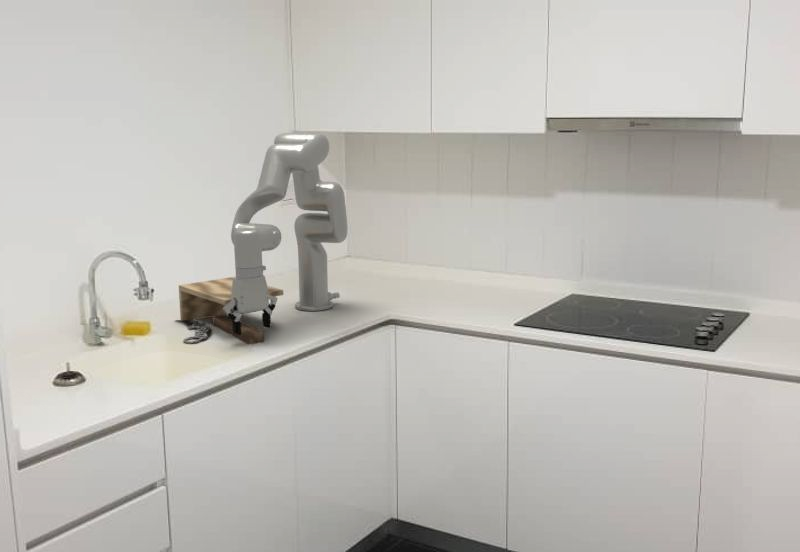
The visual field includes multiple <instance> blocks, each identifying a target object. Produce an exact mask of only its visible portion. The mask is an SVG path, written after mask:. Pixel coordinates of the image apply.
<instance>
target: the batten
mask: <svg viewBox="0 0 800 552" xmlns="http://www.w3.org/2000/svg"><path fill="white" fill-rule="evenodd" d="M239 321H240V322H241V335H237V334H234V332H233V327H232V320H230V318H229V317H227V316H226V314H222V315H217V316H212V324H213V325H212V326H214V327H216V328H217V329H219V330H221V331H222V330H223V332H224V331H225V332H224V333H226V334H228V335H230V336H232V337H233V338H236V339H238V340H240V341H241V342H243V343H245V344H247V345H249V346H251V345H256V344H262V343H265V337H264V335H265V334H264V332H263V331H261V330H259V329H257V328H255V327H253V326H251V325H249V324H247V323H245V322H243V321H241V320H239Z"/></svg>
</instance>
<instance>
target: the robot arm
mask: <svg viewBox="0 0 800 552" xmlns="http://www.w3.org/2000/svg"><path fill="white" fill-rule="evenodd" d="M329 152H330V143H329V139H328V138H327V137H326V135H324V134H323V133H316V132H314V133H313V132H312V133H311V132H285V133H284V132H283V133H279V134H278V135H276V136H275V137H274V141H273V145H270V146H269V147H268V148H267V150H266V153H265V156H264V160H263V163H262V167H261V172H260V177H259V180H258V182H257V183H258V185H257V188H256V189H255V190H254V191H252V193H250V194H249V195H248V196H247V197H246V198H245V199H244V200H243V201H242V203H241V204H240V205H239V206H238V207H237V210H236V211H235V214H234V218H233V221H232V222H233V223H232V227H231V232H230V236H231V237H230V238H231V243H232V245H233V246H234V247H233V248H234V249H233V251H234V266H235V277H236V278H233V282H232V291H231V302H229V303H228V304H227V305H226V306H224V307H223V310H224V312H225V314H224V315H226V316H227V317H229V318H230V320H232V327H233V332H234V334H237V335H241V322H242V321H241V320H240V319H241V318H242V316H243V315H245V314H250V313H256V312H259V311H262V312H263V313H262V314H261V316H262V318H261V319H262V327H264V328H266V329H271V324H272V322H271V321H272V318H271V315H272V314H273V311H274V309H276V304H277V302H278V296H275V297H274V296H272V295H269V294H268V288H267V286H268V283H267V280H266V276H265V275H264V271H266V270H267V268H266V266H265V265H263V252H266V251H267V252H268V251H269V252H270V251H273V250H276V249H277V248H278V247H279V246H280V244H281V242H282V232H281V229H280V228H278V226H275V225H274V224H269V223H268V224H267V223H251V220H252V218H253V217H254V216H255V215H256V214H257V213H258V212H260V211H261V210H263V209H265V208H267V207H269V206H271V205H274V204H277V203H279V202H281V201H282V200H284V199H285V198H286V195H287V189H288V187H289V182H290V177H291V175H292V180H293V181H292V182H293V190H294V197H295V202H296V205H297V207H298V209H300V210H304V211H309V212H305V213H301V214H300V215H298V216H297V217H296V218H295V221H294V226H293V227H294V233H295V237H296V243H297V255H298V257H297V259H298V290H299V294H298V295H299V301H297V302H295V303H294V308H295V309H296V310H299V311H303V312H305V311H306V312H309V311H310V312H316V311H325V310H330V309H331V308H333V307H334V306H333V299H335V300H336V299H339V298H340V293H339V291H337V292H329V290H328V289H329V284H328V283H329V282H328V280H329V279H328V254H327V251H326V249H325V247H324V246H323V244H322V243H326V244H340V243H343V242H344V241H346V238H347V235H348V216H347V208H346V207H347V205H346V198H345V197H346V196H345V193H344V188H343V187H342V186H341V185H340V183H338V182H335V181H323V180H321V177H320V176H321V175H320V171H319V165H320V164H321V163H323V162H324V161H325V159H327V157H328V155H329ZM310 211H313V212H310ZM315 211H316V212H315ZM322 212H327V213H322ZM231 308H232V311H234V312H233V313H231V311H230V309H231ZM240 321H241V322H240Z"/></svg>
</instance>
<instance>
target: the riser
mask: <svg viewBox="0 0 800 552" xmlns="http://www.w3.org/2000/svg"><path fill="white" fill-rule="evenodd" d="M233 278H236V276H231V277H224V278H218V279H212V280H211V279H210V280H205V281H198V282H197V281H196V282H192V283H191V282H190V283H186V284H179V285H178V296H179V297H178V299H179V315H180V317H179V318H180V320H182V321H183V320H194V321H196V320H200V319H205V318H210V317H211V316H212V317H214V316H216V315H217V316H221V314H222V315H226V314H225V312H224V310H223V307H224V306H226V305H227V304H228V303H229V302H231V291H232V282H233ZM267 288H268V294H269V295H272V296H274V297H281V296H284V289H280V288H276V287H273V286H269V285H267ZM230 311H231V312H234V311H232V308H231V309H230Z"/></svg>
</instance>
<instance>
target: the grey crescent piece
mask: <svg viewBox="0 0 800 552" xmlns="http://www.w3.org/2000/svg"><path fill="white" fill-rule="evenodd" d="M175 322H179V323H181V324H184V325H185V326H186V327H187V330H189V331H190V330H192V331H194V330H195V332H194V336H193V335H192V336H189V337H185V338H184V339H183V343H185V344H190V345H198V344H200V343H203V342H206V341H208V340H209V337H211V336H212V333H213V329H212V326H209V325H206V322H199V320H183V321H182V320H181V319H179V320H175Z"/></svg>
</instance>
